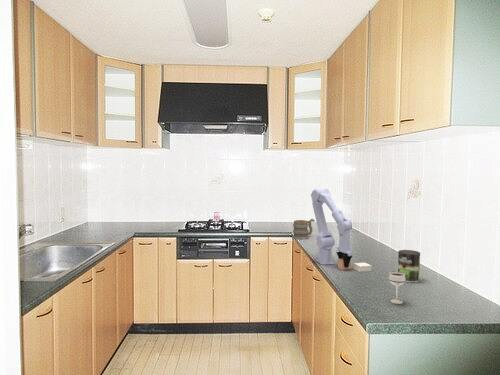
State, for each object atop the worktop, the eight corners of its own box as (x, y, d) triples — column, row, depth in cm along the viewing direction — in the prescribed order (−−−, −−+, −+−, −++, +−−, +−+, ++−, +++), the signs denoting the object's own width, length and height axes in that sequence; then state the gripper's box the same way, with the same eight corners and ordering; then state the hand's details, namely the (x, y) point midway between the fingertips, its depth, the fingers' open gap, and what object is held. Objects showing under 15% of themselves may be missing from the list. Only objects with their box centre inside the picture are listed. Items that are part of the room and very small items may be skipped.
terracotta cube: (338, 267, 213) (338, 258, 213) (346, 267, 214) (346, 258, 214) (341, 269, 208) (341, 260, 208) (350, 269, 209) (350, 260, 209)
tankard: (297, 240, 295) (297, 221, 294) (289, 237, 306) (289, 219, 305) (319, 238, 303) (319, 219, 302) (310, 235, 314) (310, 217, 314)
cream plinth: (353, 268, 211) (353, 263, 210) (365, 267, 212) (365, 262, 212) (359, 271, 204) (359, 266, 204) (371, 271, 205) (371, 265, 205)
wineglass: (400, 298, 162) (401, 271, 161) (408, 304, 155) (408, 275, 155) (385, 298, 162) (385, 271, 161) (392, 304, 155) (392, 275, 154)
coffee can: (413, 284, 182) (414, 255, 182) (393, 279, 190) (394, 251, 189) (423, 279, 189) (424, 252, 188) (404, 275, 197) (404, 248, 196)
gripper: (357, 244, 204) (356, 268, 205) (345, 239, 218) (345, 262, 219) (345, 244, 203) (344, 269, 203) (333, 239, 217) (333, 262, 218)
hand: (344, 265), depth 211 cm, fingers closed on terracotta cube, 5 cm apart
